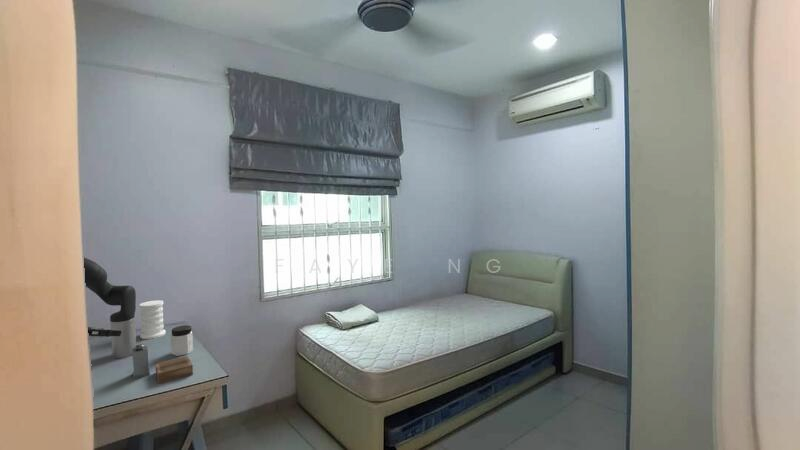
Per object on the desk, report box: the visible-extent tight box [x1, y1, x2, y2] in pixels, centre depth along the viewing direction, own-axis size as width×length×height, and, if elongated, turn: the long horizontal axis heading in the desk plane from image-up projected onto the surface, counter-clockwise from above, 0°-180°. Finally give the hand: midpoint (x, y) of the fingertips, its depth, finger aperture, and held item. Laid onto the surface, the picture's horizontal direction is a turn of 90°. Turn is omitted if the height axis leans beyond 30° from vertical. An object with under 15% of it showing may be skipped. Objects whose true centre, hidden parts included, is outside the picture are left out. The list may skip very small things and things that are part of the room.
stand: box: [155, 355, 194, 384], centre depth 152 cm, size 12×12×4 cm
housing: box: [132, 343, 151, 380], centre depth 151 cm, size 6×6×12 cm
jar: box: [170, 324, 194, 357], centre depth 173 cm, size 9×8×12 cm
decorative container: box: [139, 299, 166, 340], centre depth 196 cm, size 12×12×18 cm
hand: (115, 333), depth 145 cm, fingers open, 8 cm apart
